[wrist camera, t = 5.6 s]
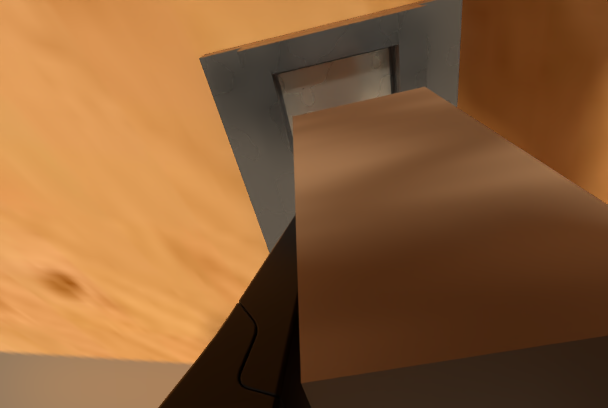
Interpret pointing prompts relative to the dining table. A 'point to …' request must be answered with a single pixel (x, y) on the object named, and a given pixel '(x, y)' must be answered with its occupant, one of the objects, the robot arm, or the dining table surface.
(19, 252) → the dining table surface
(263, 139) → the rail
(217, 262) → the dining table surface
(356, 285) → the tan wooden block
